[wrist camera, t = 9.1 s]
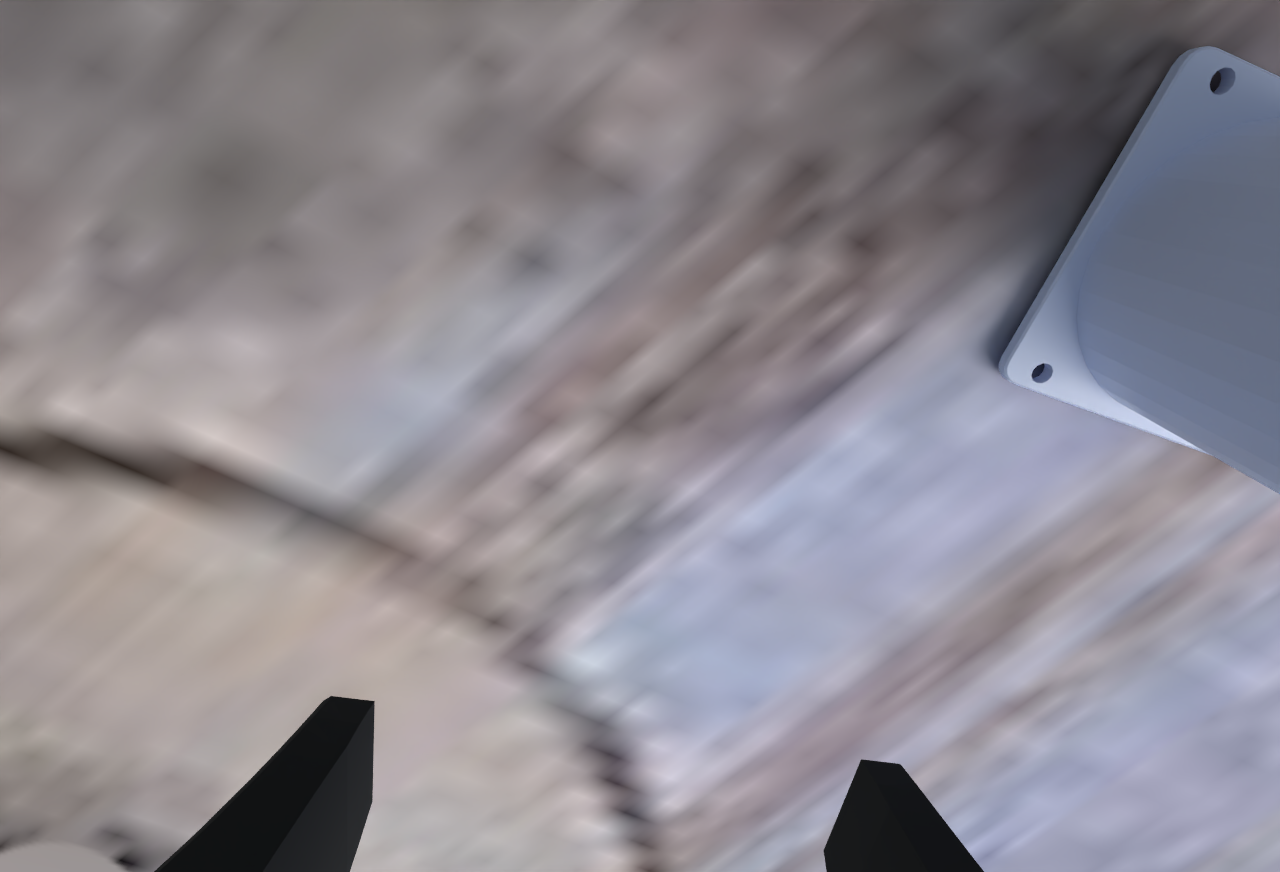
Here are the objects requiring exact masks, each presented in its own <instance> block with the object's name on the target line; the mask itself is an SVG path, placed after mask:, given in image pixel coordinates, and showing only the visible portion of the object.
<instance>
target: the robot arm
mask: <svg viewBox="0 0 1280 872" xmlns="http://www.w3.org/2000/svg"><path fill="white" fill-rule="evenodd" d="M1217 71H1219V72H1220V73H1221V82H1220V85H1219V87H1218V88H1217V89H1216V90H1215V91H1214V93H1213V92H1212V91H1211V90H1210V81H1211V79H1212V76H1213V75H1214V74H1215V73H1216V72H1217ZM1042 363H1044V366H1045V367H1044V370H1043V372H1042V373H1041V374H1040V375H1039V376H1037V377H1035V378H1032V372H1033V370H1034V369H1035V368H1036V367H1037V366H1038V365H1040V364H1042ZM999 372H1000V374H1001V375H1002V377H1004V378H1005V379H1007V380H1008V381H1010V382H1011V383H1013V384H1015V385H1017V386H1020V387H1023V388H1026V389H1029V390H1031V391H1034V392H1037V393H1040V394H1042V395H1045V396H1048V397H1051V398H1053V399H1056V400H1059V401H1062V402H1065V403H1067V404H1070V405H1073V406H1076V407H1078V408H1081V409H1084V410H1087V411H1090V412H1092V413H1095V414H1098V415H1101V416H1103V417H1106V418H1109V419H1112V420H1115V421H1117V422H1120V423H1123V424H1126V425H1128V426H1131V427H1134V428H1137V429H1140V430H1142V431H1145V432H1148V433H1151V434H1153V435H1156V436H1159V437H1162V438H1164V439H1167V440H1170V441H1173V442H1176V443H1178V444H1181V445H1184V446H1187V447H1189V448H1192V449H1195V450H1198V451H1201V452H1203V453H1206V454H1209V455H1212V456H1214V457H1215V458H1217V459H1219V460H1221V461H1222V462H1224V463H1226V464H1228V465H1229V466H1231V467H1233V468H1235V469H1236V470H1238V471H1240V472H1242V473H1243V474H1245V475H1247V476H1249V477H1251V478H1252V479H1254V480H1256V481H1258V482H1259V483H1261V484H1263V485H1265V486H1266V487H1268V488H1270V489H1272V490H1273V491H1275V492H1277V493H1279V494H1280V76H1277V75H1275V74H1273V73H1271V72H1269V71H1267V70H1264V69H1262V68H1260V67H1258V66H1256V65H1254V64H1251V63H1249V62H1247V61H1245V60H1243V59H1241V58H1238V57H1236V56H1234V55H1232V54H1230V53H1228V52H1225V51H1223V50H1221V49H1219V48H1217V47H1211V46H1204V47H1197V48H1194V49H1190V50H1188V51H1186V52H1185V53H1183V54H1182V55H1180V56H1179V57H1178V58H1177V60H1176V61H1175V62H1174V63H1173V65H1172V66H1171V68H1170V70H1169V71H1168V73H1167V75H1166V77H1165V78H1164V80H1163V82H1162V83H1161V85H1160V87H1159V89H1158V90H1157V92H1156V94H1155V95H1154V97H1153V99H1152V100H1151V102H1150V104H1149V106H1148V107H1147V109H1146V111H1145V112H1144V114H1143V116H1142V118H1141V119H1140V121H1139V123H1138V124H1137V126H1136V128H1135V129H1134V131H1133V133H1132V135H1131V136H1130V138H1129V140H1128V141H1127V143H1126V145H1125V147H1124V148H1123V150H1122V152H1121V153H1120V155H1119V157H1118V158H1117V160H1116V162H1115V164H1114V165H1113V167H1112V169H1111V170H1110V172H1109V174H1108V176H1107V177H1106V179H1105V181H1104V182H1103V184H1102V186H1101V187H1100V189H1099V191H1098V193H1097V194H1096V196H1095V198H1094V199H1093V201H1092V203H1091V205H1090V206H1089V208H1088V210H1087V211H1086V213H1085V215H1084V216H1083V218H1082V220H1081V222H1080V223H1079V225H1078V227H1077V228H1076V230H1075V232H1074V234H1073V235H1072V237H1071V239H1070V240H1069V242H1068V244H1067V245H1066V247H1065V249H1064V251H1063V252H1062V254H1061V256H1060V257H1059V259H1058V261H1057V263H1056V264H1055V266H1054V268H1053V269H1052V271H1051V273H1050V274H1049V276H1048V278H1047V280H1046V281H1045V283H1044V285H1043V286H1042V288H1041V290H1040V292H1039V293H1038V295H1037V297H1036V298H1035V300H1034V302H1033V303H1032V305H1031V307H1030V309H1029V310H1028V312H1027V314H1026V315H1025V317H1024V319H1023V321H1022V322H1021V324H1020V326H1019V327H1018V329H1017V331H1016V332H1015V334H1014V336H1013V338H1012V339H1011V341H1010V343H1009V344H1008V346H1007V348H1006V350H1005V351H1004V353H1003V355H1002V356H1001V359H1000V362H999ZM373 744H374V701H368V700H359V699H351V698H342V697H334V696H330V697H329V698H327V699H326V700H324V701H323V702H322V703H321V704H320V705H319V706H318V707H317V708H316V710H315V711H314V712H313V713H312V714H311V715H310V716H309V717H308V719H307V720H306V721H305V722H304V723H303V724H302V725H301V726H300V727H299V729H298V730H297V731H296V732H295V733H294V734H293V735H292V736H291V737H290V738H289V739H288V740H287V742H286V743H285V744H284V745H283V746H282V747H281V748H280V749H279V750H278V751H277V752H276V753H275V754H274V755H273V756H272V757H271V759H270V760H269V761H268V762H267V763H266V764H265V765H264V766H263V767H262V768H261V769H260V770H259V771H258V772H257V773H256V774H255V775H254V776H253V777H252V778H251V779H250V780H249V781H248V782H247V783H246V784H245V785H244V786H243V787H242V788H241V789H240V790H239V791H238V792H237V793H236V794H235V795H234V796H233V797H232V798H231V799H230V800H229V801H228V802H227V803H226V804H225V805H224V806H223V807H222V808H221V809H220V810H219V811H218V812H217V813H216V814H215V815H214V816H213V817H212V818H211V819H210V820H209V821H208V822H207V823H206V824H205V825H204V826H203V827H202V828H201V829H200V830H199V831H198V832H197V833H196V834H195V835H193V836H192V837H191V838H190V839H189V840H188V841H187V842H186V843H185V844H184V845H183V846H182V847H181V848H180V849H178V850H177V851H176V852H175V853H174V854H173V855H172V856H171V857H170V858H169V859H168V860H166V861H165V862H164V863H163V864H162V865H161V866H160V867H159V868H158V869H157V870H155V871H154V872H350V869H351V866H352V863H353V860H354V857H355V854H356V851H357V848H358V845H359V842H360V839H361V835H362V832H363V829H364V826H365V823H366V820H367V816H368V813H369V810H370V807H371V804H372V790H373ZM824 856H825V863H826V870H827V872H984V871H983V870H982V869H981V867H980V866H979V865H978V864H977V862H976V861H975V860H974V858H973V857H972V856H971V855H970V853H969V852H968V851H967V849H966V848H965V847H964V846H963V844H962V843H961V842H960V840H959V839H958V838H957V837H956V835H955V834H954V833H953V831H952V830H951V829H950V828H949V826H948V825H947V824H946V822H945V821H944V820H943V818H942V817H941V816H940V815H939V813H938V812H937V811H936V809H935V808H934V807H933V805H932V804H931V803H930V801H929V800H928V799H927V798H926V796H925V795H924V794H923V792H922V791H921V790H920V789H919V787H918V786H917V785H916V783H915V782H914V781H913V780H912V778H911V777H910V776H909V774H908V773H907V772H906V771H905V769H904V768H903V767H902V766H901V764H895V763H887V762H878V761H870V760H861V761H860V764H859V766H858V769H857V771H856V773H855V776H854V778H853V781H852V783H851V786H850V788H849V790H848V793H847V795H846V798H845V800H844V803H843V805H842V807H841V810H840V812H839V815H838V817H837V820H836V822H835V824H834V827H833V829H832V832H831V834H830V836H829V839H828V841H827V844H826V846H825V849H824Z"/></svg>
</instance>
